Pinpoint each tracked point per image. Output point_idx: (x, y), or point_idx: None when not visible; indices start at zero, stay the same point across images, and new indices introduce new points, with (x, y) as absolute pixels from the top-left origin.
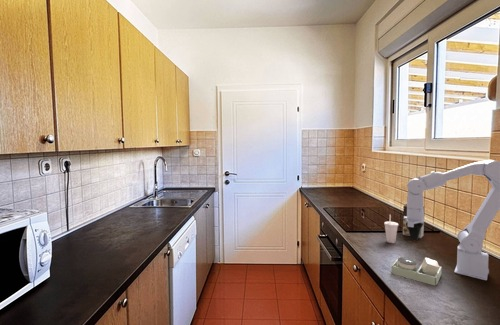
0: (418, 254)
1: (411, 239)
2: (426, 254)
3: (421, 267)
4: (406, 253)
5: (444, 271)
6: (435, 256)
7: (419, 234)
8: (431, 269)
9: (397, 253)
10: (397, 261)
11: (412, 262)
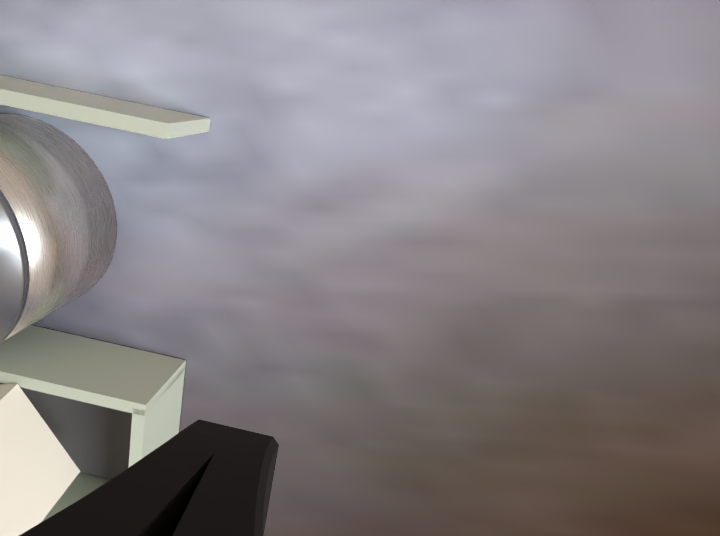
0: (678, 341)
1: (189, 430)
2: (717, 429)
3: (11, 378)
4: (658, 194)
5: (265, 532)
6: (679, 512)
7: None
8: None
9: (605, 67)
10: (20, 105)
11: None
